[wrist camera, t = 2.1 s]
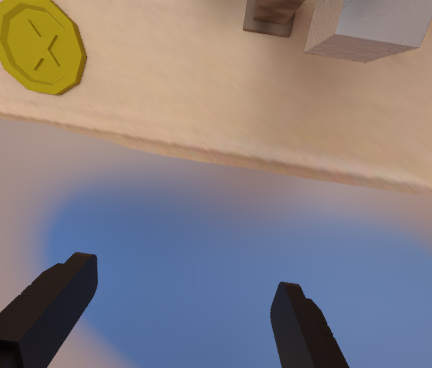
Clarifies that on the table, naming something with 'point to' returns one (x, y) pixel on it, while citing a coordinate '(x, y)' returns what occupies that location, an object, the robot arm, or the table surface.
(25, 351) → the robot arm
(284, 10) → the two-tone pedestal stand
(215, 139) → the table surface
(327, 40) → the notched grey block
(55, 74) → the decorative disc
